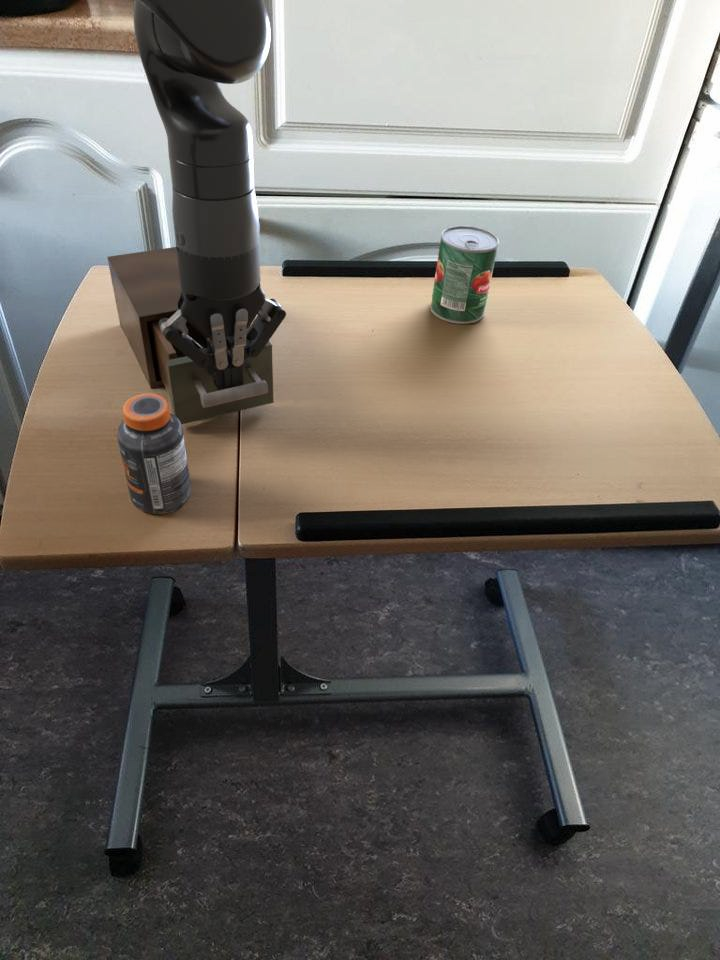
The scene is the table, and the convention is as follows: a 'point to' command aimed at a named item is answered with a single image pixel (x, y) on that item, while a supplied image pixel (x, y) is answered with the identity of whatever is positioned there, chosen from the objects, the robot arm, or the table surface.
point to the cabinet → (145, 298)
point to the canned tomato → (463, 274)
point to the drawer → (208, 379)
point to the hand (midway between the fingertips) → (228, 391)
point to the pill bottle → (153, 455)
